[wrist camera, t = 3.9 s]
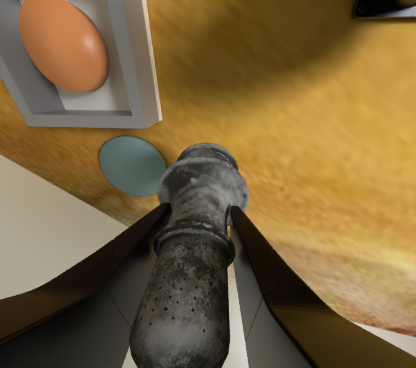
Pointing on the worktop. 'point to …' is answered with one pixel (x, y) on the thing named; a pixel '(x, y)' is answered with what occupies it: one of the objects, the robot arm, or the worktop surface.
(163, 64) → the worktop surface
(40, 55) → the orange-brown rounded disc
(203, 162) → the salt shaker
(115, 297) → the robot arm
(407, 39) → the worktop surface
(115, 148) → the slate coaster
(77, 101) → the grey square tray
